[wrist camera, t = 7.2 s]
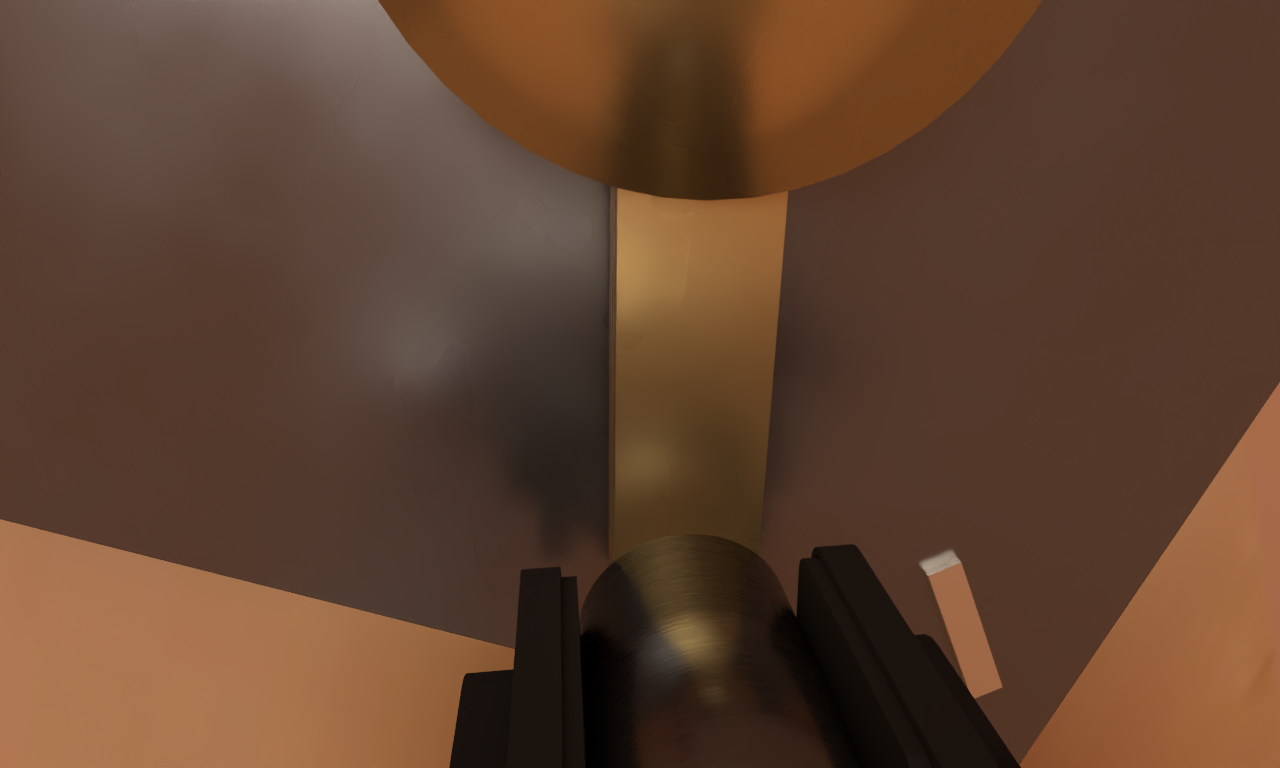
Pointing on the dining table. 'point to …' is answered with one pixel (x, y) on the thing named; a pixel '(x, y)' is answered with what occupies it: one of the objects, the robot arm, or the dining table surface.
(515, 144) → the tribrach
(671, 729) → the crank dial
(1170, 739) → the dining table surface
